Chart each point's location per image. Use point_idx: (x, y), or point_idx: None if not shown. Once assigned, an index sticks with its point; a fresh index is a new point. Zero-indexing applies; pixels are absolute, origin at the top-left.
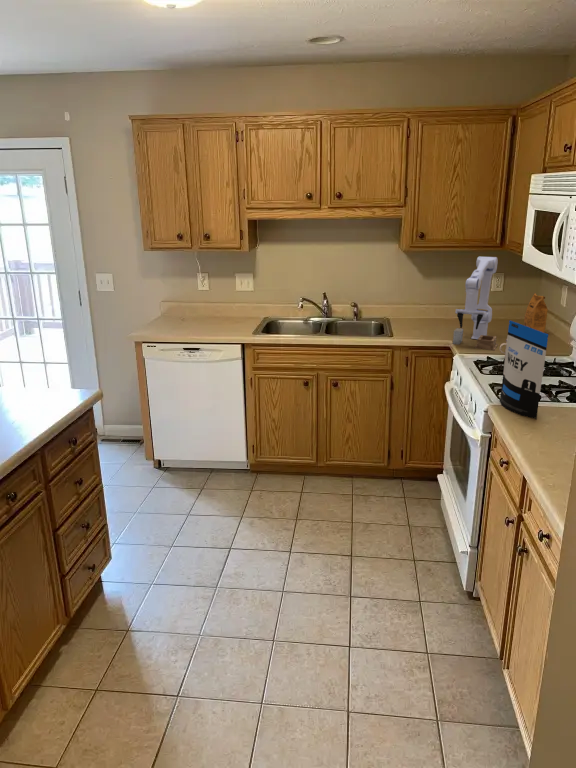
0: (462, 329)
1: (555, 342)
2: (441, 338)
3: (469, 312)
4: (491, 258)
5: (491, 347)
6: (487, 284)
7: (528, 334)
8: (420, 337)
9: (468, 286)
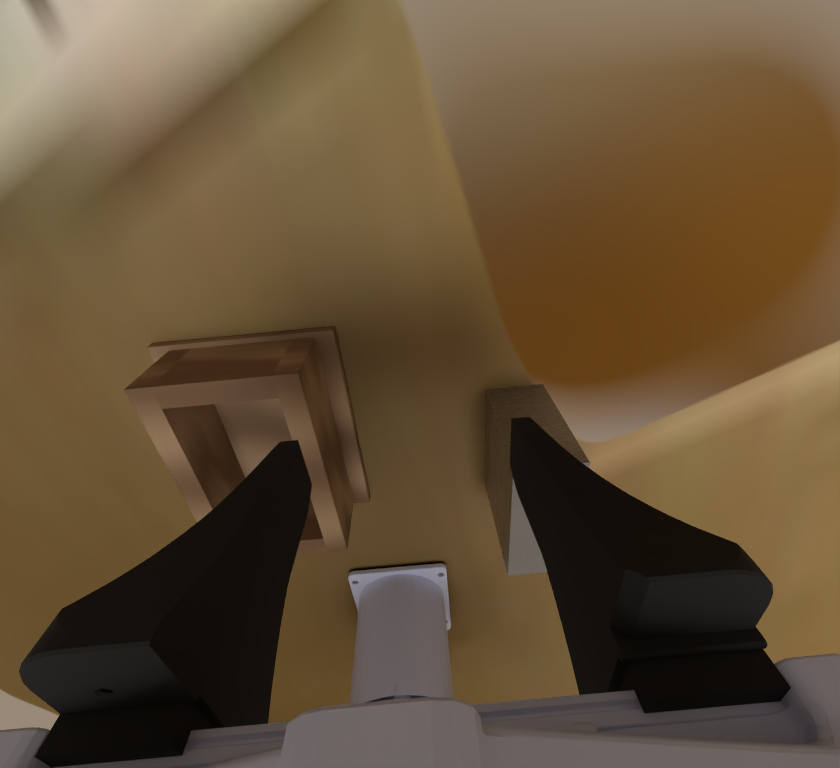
0: (511, 551)
1: (19, 672)
2: (639, 493)
3: (367, 743)
4: None
5: (174, 355)
6: None
7: None
8: (803, 452)
9: None
